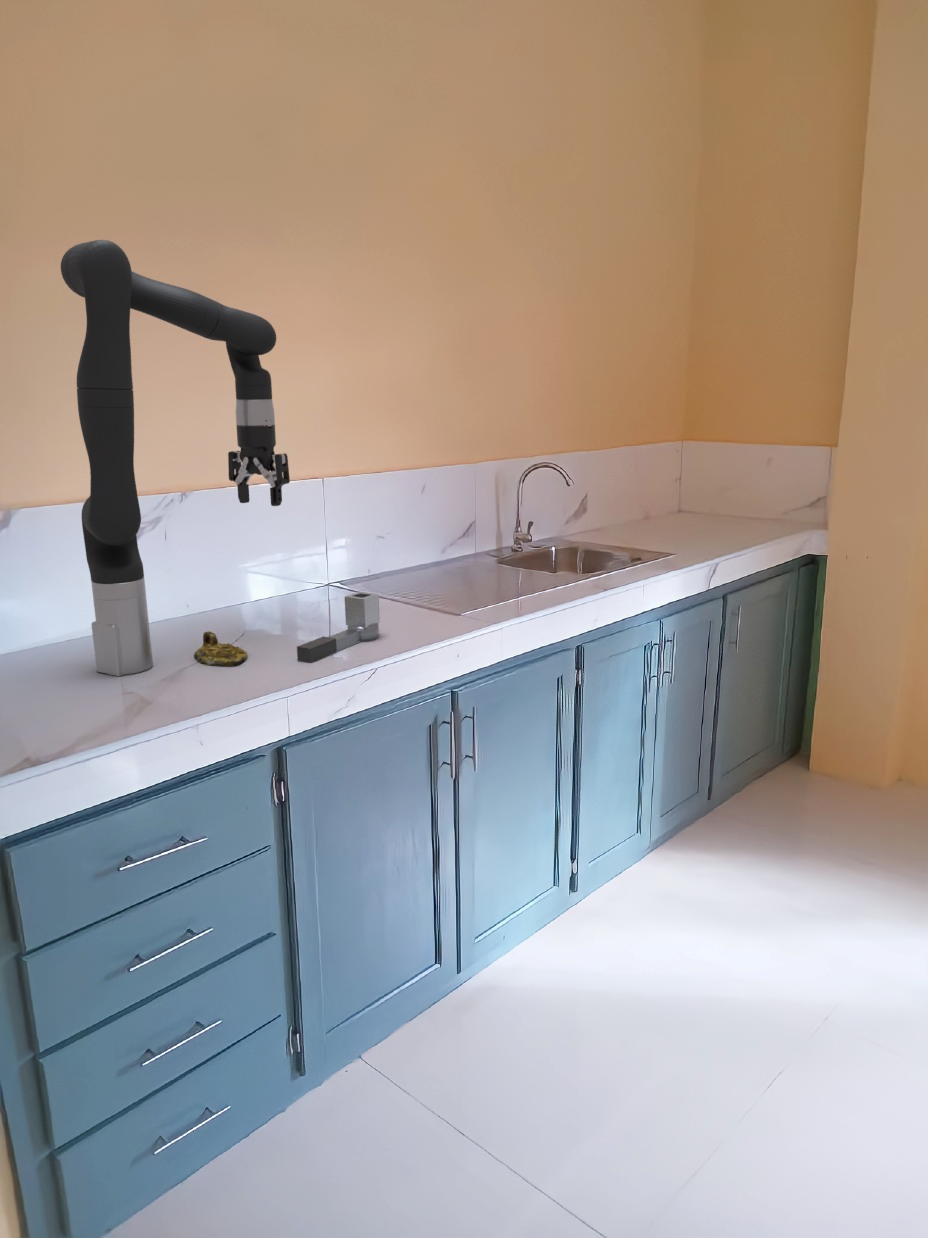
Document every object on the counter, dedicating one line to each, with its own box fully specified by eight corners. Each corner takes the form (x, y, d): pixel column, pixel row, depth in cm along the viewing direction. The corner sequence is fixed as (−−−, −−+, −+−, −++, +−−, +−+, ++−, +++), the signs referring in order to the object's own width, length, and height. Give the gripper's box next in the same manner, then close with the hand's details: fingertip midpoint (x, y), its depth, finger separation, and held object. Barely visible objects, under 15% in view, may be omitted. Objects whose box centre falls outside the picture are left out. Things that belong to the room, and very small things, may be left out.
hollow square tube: (365, 627, 192) (364, 599, 190) (345, 624, 194) (344, 596, 193) (379, 622, 196) (378, 594, 194) (360, 619, 198) (359, 591, 197)
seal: (260, 668, 181) (225, 650, 192) (261, 644, 180) (226, 627, 191) (215, 672, 175) (181, 654, 186) (216, 648, 174) (182, 630, 185)
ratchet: (360, 631, 200) (359, 602, 198) (385, 635, 197) (384, 605, 195) (291, 659, 182) (289, 626, 180) (317, 664, 178) (315, 631, 177)
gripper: (215, 422, 188) (221, 504, 192) (269, 424, 181) (274, 508, 185) (242, 421, 194) (247, 499, 198) (295, 422, 187) (299, 504, 191)
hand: (260, 504), depth 191 cm, fingers open, 8 cm apart
